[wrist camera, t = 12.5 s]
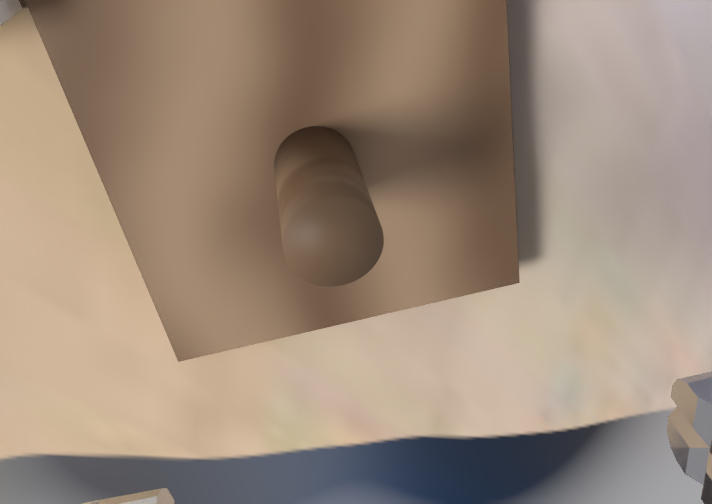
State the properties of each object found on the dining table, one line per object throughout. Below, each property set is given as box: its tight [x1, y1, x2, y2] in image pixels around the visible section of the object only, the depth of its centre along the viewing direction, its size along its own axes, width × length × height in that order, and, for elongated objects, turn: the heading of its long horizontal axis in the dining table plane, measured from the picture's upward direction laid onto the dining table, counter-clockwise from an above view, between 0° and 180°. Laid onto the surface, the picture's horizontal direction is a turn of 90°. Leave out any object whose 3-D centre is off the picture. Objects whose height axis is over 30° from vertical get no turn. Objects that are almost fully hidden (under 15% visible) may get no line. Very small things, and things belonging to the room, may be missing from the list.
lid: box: [25, 0, 519, 362], centre depth 19 cm, size 13×13×6 cm
